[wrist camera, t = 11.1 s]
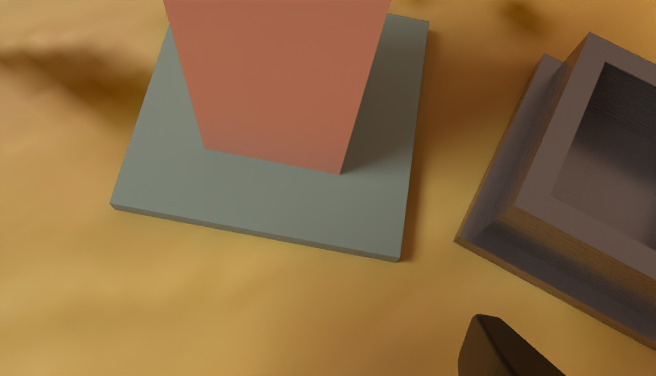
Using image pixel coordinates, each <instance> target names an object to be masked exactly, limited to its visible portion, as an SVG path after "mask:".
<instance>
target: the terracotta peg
mask: <svg viewBox="0 0 656 376" xmlns="http://www.w3.org/2000/svg"><path fill="white" fill-rule="evenodd" d="M390 1H391V0H163V2H164V5H165V9H166V13H167V16H168V20H169V23H170V27H171V30H172V34H173V38H174V41H175V45H176V48H177V52H178V56H179V59H180V63H181V66H182V70H183V73H184V77H185V81H186V84H187V88H188V91H189V95H190V99H191V102H192V106H193V109H194V113H195V116H196V120H197V124H198V127H199V131H200V134H201V138H202V142H203V145H204V149H209V150H215V151H220V152H225V153H230V154H235V155H240V156H245V157H250V158H255V159H260V160H266V161H271V162H276V163H281V164H286V165H291V166H296V167H301V168H306V169H311V170H316V171H322V172H327V173H332V174H337V175H339V174H340V171H341V168H342V164H343V161H344V157H345V154H346V151H347V147H348V144H349V140H350V137H351V134H352V130H353V127H354V123H355V120H356V117H357V113H358V110H359V106H360V103H361V100H362V96H363V93H364V89H365V86H366V83H367V79H368V76H369V72H370V69H371V66H372V62H373V59H374V55H375V52H376V49H377V45H378V42H379V38H380V35H381V32H382V28H383V25H384V21H385V18H386V15H387V11H388V8H389V4H390Z"/></svg>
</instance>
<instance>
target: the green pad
mask: <svg viewBox="0 0 656 376" xmlns="http://www.w3.org/2000/svg"><path fill="white" fill-rule="evenodd" d="M428 26H429V22H428V21H423V20H418V19H413V18H408V17H403V16H398V15H393V14H388V13H387V15H386V18H385V21H384V25H383V28H382V32H381V35H380V38H379V42H378V45H377V49H376V52H375V55H374V59H373V62H372V66H371V69H370V72H369V76H368V79H367V83H366V86H365V89H364V93H363V96H362V100H361V103H360V106H359V110H358V113H357V117H356V120H355V123H354V127H353V130H352V134H351V137H350V140H349V144H348V147H347V151H346V154H345V157H344V161H343V164H342V168H341V171H340V174H339V175H337V174H332V173H327V172H322V171H316V170H311V169H306V168H301V167H296V166H291V165H286V164H281V163H276V162H271V161H266V160H260V159H255V158H250V157H245V156H240V155H235V154H230V153H225V152H220V151H215V150H209V149H204V145H203V142H202V138H201V134H200V131H199V127H198V124H197V120H196V116H195V113H194V109H193V106H192V102H191V99H190V95H189V91H188V88H187V84H186V81H185V77H184V73H183V70H182V66H181V63H180V59H179V56H178V52H177V48H176V45H175V41H174V38H173V34H172V30H171V27H170V24H169V27H168V30H167V33H166V36H165V39H164V42H163V45H162V48H161V51H160V54H159V57H158V60H157V63H156V66H155V69H154V72H153V75H152V78H151V81H150V84H149V87H148V90H147V93H146V96H145V99H144V102H143V105H142V108H141V110H140V113H139V116H138V119H137V122H136V125H135V128H134V131H133V134H132V137H131V140H130V143H129V146H128V149H127V152H126V155H125V158H124V161H123V164H122V167H121V170H120V173H119V176H118V179H117V182H116V185H115V188H114V191H113V194H112V197H111V200H110V204H111V206H112V207H113V208H114V209H115V210H121V211H126V212H131V213H136V214H142V215H147V216H152V217H158V218H163V219H168V220H174V221H179V222H184V223H189V224H195V225H200V226H205V227H211V228H216V229H221V230H227V231H232V232H237V233H243V234H248V235H253V236H258V237H264V238H269V239H274V240H280V241H285V242H290V243H296V244H301V245H306V246H312V247H317V248H322V249H327V250H333V251H338V252H343V253H349V254H354V255H359V256H365V257H370V258H375V259H380V260H386V261H391V262H397V261H398V259H399V258H400V253H401V245H402V237H403V228H404V220H405V212H406V204H407V196H408V188H409V180H410V172H411V164H412V155H413V147H414V139H415V131H416V123H417V115H418V107H419V99H420V90H421V82H422V74H423V66H424V58H425V50H426V42H427V34H428Z"/></svg>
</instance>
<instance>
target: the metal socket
mask: <svg viewBox="0 0 656 376" xmlns="http://www.w3.org/2000/svg"><path fill="white" fill-rule="evenodd" d="M454 242H455V243H457V244H459V245H461V246H463V247H465V248H467V249H468V250H470V251H472V252H474V253H476V254H478V255H480V256H481V257H483V258H485V259H487V260H489V261H491V262H492V263H494V264H496V265H498V266H500V267H502V268H504V269H505V270H507V271H509V272H511V273H513V274H515V275H516V276H518V277H520V278H522V279H524V280H526V281H528V282H529V283H531V284H533V285H535V286H537V287H539V288H540V289H542V290H544V291H546V292H548V293H550V294H552V295H553V296H555V297H557V298H559V299H561V300H563V301H564V302H566V303H568V304H570V305H572V306H574V307H576V308H577V309H579V310H581V311H583V312H585V313H587V314H588V315H590V316H592V317H594V318H596V319H598V320H600V321H601V322H603V323H605V324H607V325H609V326H611V327H612V328H614V329H616V330H618V331H620V332H622V333H624V334H625V335H627V336H629V337H631V338H633V339H635V340H636V341H638V342H640V343H642V344H644V345H646V346H648V347H649V348H651V349H653V350H655V351H656V64H654V63H652V62H650V61H648V60H646V59H644V58H642V57H640V56H638V55H636V54H633V53H631V52H629V51H627V50H625V49H623V48H621V47H619V46H617V45H615V44H613V43H611V42H609V41H607V40H605V39H603V38H601V37H599V36H597V35H595V34H593V33H591V32H589V34H588V35H587V36H586V37H585V38H584V39H583V41H582V42H581V43H580V44H579V45H578V46H577V47H576V49H575V50H574V51H573V52H572V53H571V54H570V56H569V57H568V58H567V59H566V60H565V61H564V62H561V61H559V60H557V59H555V58H553V57H551V56H549V55H547V54H544V55H543V57H542V58H541V59H540V60H539V62H538V63H537V65H536V67H535V69H534V71H533V73H532V76H531V78H530V80H529V82H528V84H527V86H526V88H525V90H524V93H523V95H522V97H521V99H520V101H519V103H518V105H517V107H516V109H515V112H514V114H513V116H512V118H511V120H510V122H509V124H508V126H507V129H506V131H505V133H504V135H503V137H502V139H501V141H500V143H499V145H498V148H497V150H496V152H495V154H494V156H493V158H492V160H491V162H490V164H489V167H488V169H487V171H486V173H485V175H484V177H483V179H482V181H481V184H480V186H479V188H478V190H477V192H476V194H475V196H474V198H473V200H472V203H471V205H470V207H469V209H468V211H467V213H466V215H465V217H464V219H463V222H462V224H461V226H460V228H459V230H458V232H457V234H456V236H455V239H454Z"/></svg>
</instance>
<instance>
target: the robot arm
mask: <svg viewBox="0 0 656 376" xmlns="http://www.w3.org/2000/svg"><path fill="white" fill-rule="evenodd" d="M458 374H459V376H566V375H564V374H563V373H562V372H561V371H560V370H559V369H558V368H556V367H555V366H554V365H553V364H552V363H551V362H550V361H548V360H547V359H546V358H545V357H544V356H543V355H542V354H540V353H539V352H538V351H537V350H536V349H535V348H534V347H532V346H531V345H530V344H529V343H528V342H527V341H526V340H524V339H523V338H522V337H521V336H520V335H519V334H518V333H516V332H515V331H514V330H513V329H512V328H511V327H510V326H508V325H507V324H506V323H505V322H504V321H503V320H501V319H500V318H498V317H493V316H488V315H482V314H476V315H475V316H474V317H473V318H472V320H471V322H470V325H469V327H468V330H467V333H466V336H465V339H464V342H463V345H462V347H461V350H460V354H459V359H458Z"/></svg>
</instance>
